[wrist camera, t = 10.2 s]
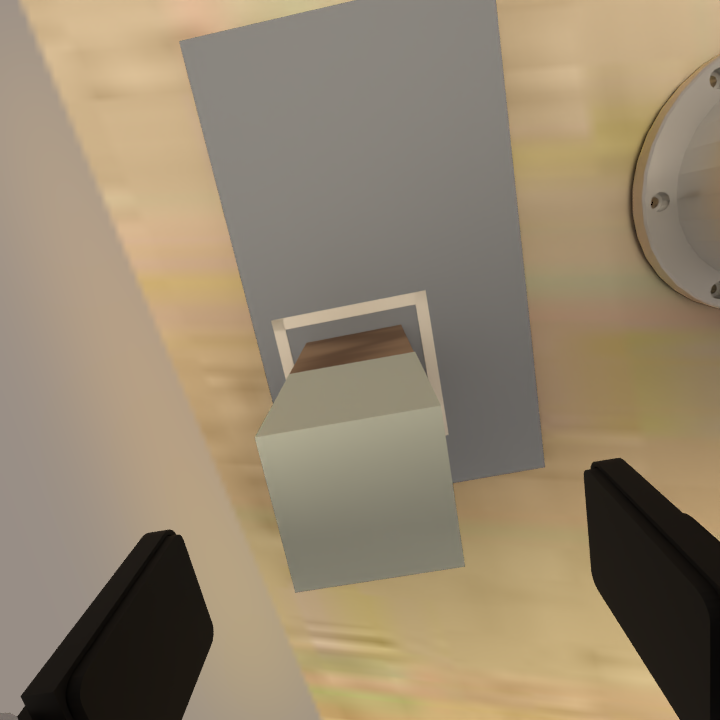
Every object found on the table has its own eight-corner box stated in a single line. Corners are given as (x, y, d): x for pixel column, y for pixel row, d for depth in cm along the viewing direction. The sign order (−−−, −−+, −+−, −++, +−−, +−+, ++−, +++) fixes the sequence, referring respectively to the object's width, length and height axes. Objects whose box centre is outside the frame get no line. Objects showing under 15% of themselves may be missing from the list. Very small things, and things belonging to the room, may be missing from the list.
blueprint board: (487, -22, 20) (493, -34, 20) (539, 460, 26) (545, 468, 25) (185, 48, 21) (178, 40, 20) (302, 501, 27) (300, 510, 26)
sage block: (415, 351, 18) (440, 405, 12) (433, 467, 19) (464, 566, 13) (289, 373, 18) (254, 437, 12) (315, 486, 19) (295, 592, 13)
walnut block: (400, 324, 24) (413, 352, 18) (416, 413, 25) (433, 466, 19) (306, 342, 24) (288, 375, 18) (326, 430, 25) (316, 487, 19)
